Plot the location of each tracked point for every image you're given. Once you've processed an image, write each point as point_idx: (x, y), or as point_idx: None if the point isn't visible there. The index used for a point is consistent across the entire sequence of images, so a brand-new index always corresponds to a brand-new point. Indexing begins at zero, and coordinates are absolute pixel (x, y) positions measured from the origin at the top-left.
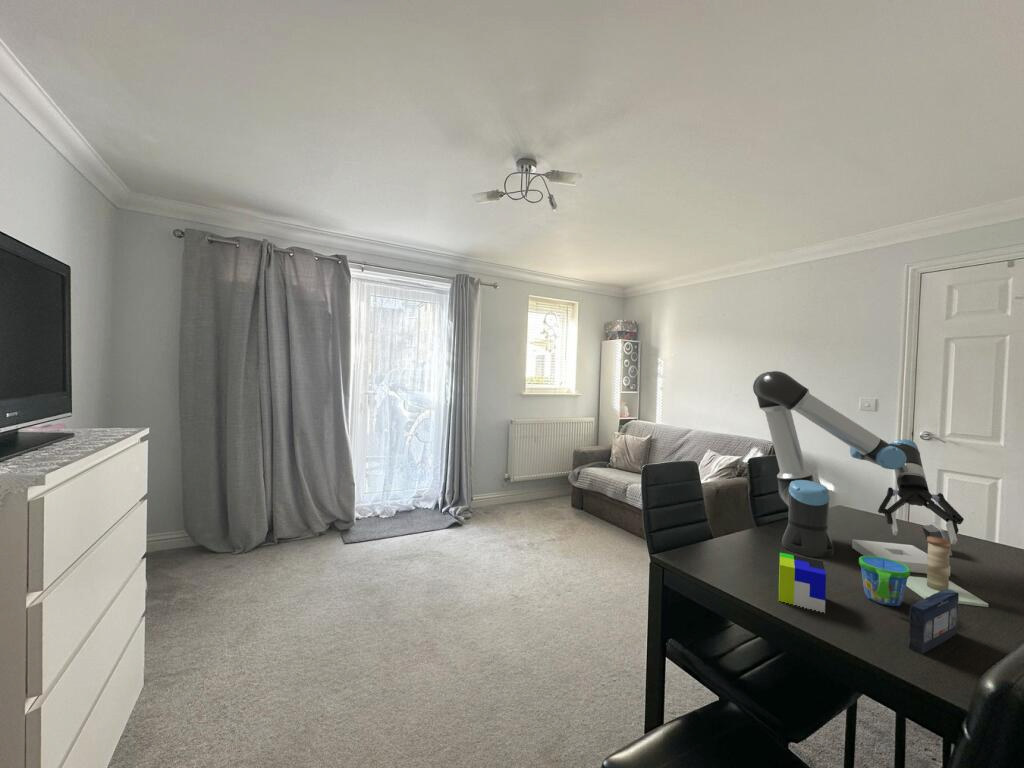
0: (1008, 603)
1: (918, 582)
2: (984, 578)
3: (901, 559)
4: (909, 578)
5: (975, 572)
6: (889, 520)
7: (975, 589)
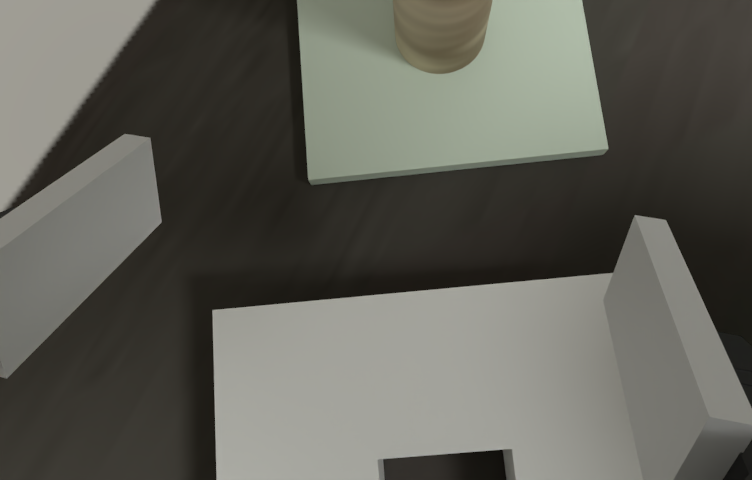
0: (164, 22)
1: (510, 73)
2: (37, 364)
3: (501, 328)
4: (537, 116)
5: (18, 465)
6: (739, 347)
7: (213, 148)
